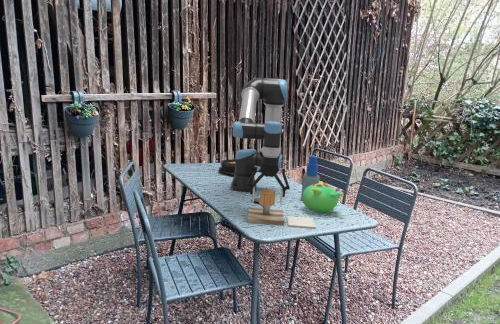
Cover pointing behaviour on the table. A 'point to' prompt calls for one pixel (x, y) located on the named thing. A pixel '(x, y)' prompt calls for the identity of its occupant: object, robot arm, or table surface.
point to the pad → (301, 222)
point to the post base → (265, 216)
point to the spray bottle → (310, 174)
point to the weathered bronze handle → (256, 199)
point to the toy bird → (320, 197)
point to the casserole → (228, 167)
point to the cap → (267, 197)
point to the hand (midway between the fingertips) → (266, 202)
